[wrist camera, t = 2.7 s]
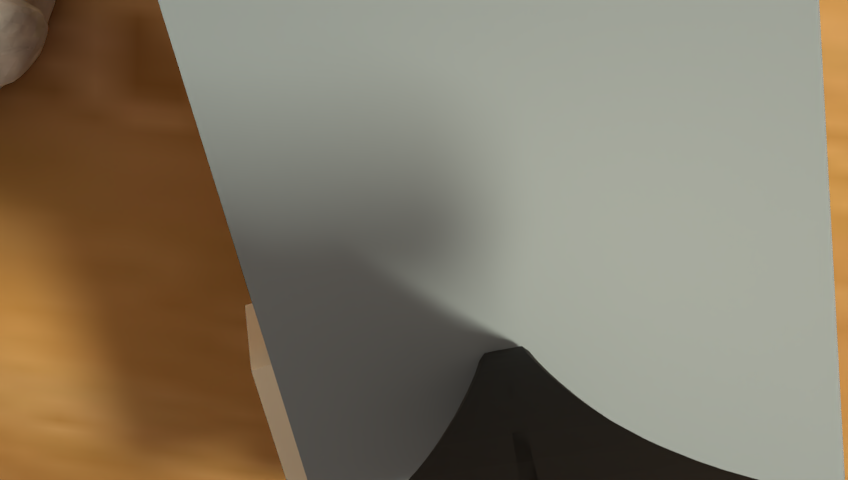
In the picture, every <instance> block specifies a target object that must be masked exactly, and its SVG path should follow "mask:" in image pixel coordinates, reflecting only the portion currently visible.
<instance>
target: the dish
mask: <svg viewBox="0 0 848 480" xmlns="http://www.w3.org/2000/svg"><path fill="white" fill-rule="evenodd" d="M55 1H56V0H0V89H1V88H2V87H3V86H4V85H6V84H9V83H13V82H14V81H15V80H17V79H18V78H20V77H21V76H22V75H23V74H24V73H25V72H26V71H27V70H28V69H29V68H30V67H31V65H32V64H33V63H34V62H35V60H36V59H37V58H38V57H39V55H40V53H41V51H42V48H43V46H44V43H45V40H46V37H47V34H48V21H49V18H50V16H51V13H52V11H53V8H54V5H55Z"/></svg>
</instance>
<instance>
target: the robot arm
mask: <svg viewBox="0 0 848 480" xmlns="http://www.w3.org/2000/svg"><path fill="white" fill-rule="evenodd" d="M409 480H758V479H754V478H751V477H747V476H743V475H740V474H736V473H733V472H729V471H726V470H723V469H720V468H717V467H714V466H711V465H708V464H705V463H702V462H699V461H696V460H694V459H691V458H689V457H686V456H684V455H681V454H679V453H676V452H674V451H671V450H669V449H666V448H664V447H662V446H659V445H657V444H655V443H653V442H651V441H648V440H646V439H644V438H642V437H640V436H639V435H637V434H635V433H633V432H631V431H629V430H627V429H625V428H624V427H622V426H620V425H618V424H616V423H614V422H613V421H611V420H609V419H608V418H606V417H605V416H603V415H602V414H600V413H599V412H598V411H596V410H595V409H593V408H592V407H590V406H589V405H588V404H586V403H585V402H584V401H582V400H581V399H580V398H578V397H577V396H576V395H575V394H573V393H572V392H571V391H570V390H569V389H567V388H566V387H565V386H564V385H563V384H561V383H560V382H559V381H558V380H557V379H556V378H554V377H553V376H552V375H551V374H550V373H549V372H548V371H547V370H546V369H545V368H544V367H543V366H542V365H541V364H540V363H539V362H538V361H537V360H536V359H535V358H534V356H533V355H532V354H531V353H530V351H528V350H527V349H525V348H524V347H523V346H519V347H514V348H508V349H503V350H497V351H492V352H488V353H484V355H483V356H482V358H481V359H480V360H479V363H478V366H477V369H476V372H475V375H474V377H473V379H472V382H471V384H470V386H469V388H468V391H467V393H466V395H465V397H464V398H463V400H462V402H461V404H460V406H459V408H458V410H457V412H456V414H455V416H454V417H453V419H452V421H451V422H450V424H449V425H448V427H447V429H446V430H445V432H444V433H443V435H442V437H441V438H440V440H439V441H438V443H437V444H436V446H435V447H434V449H433V450H432V451H431V453H430V454H429V456H428V457H427V458H426V460H425V461H424V462H423V464H422V465H421V466H420V467H419V468H418V469H417V471H416V472H415V473H414V474H413V475H412V476H411V477H410V479H409Z"/></svg>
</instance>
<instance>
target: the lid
mask: <svg viewBox="0 0 848 480" xmlns="http://www.w3.org/2000/svg"><path fill="white" fill-rule="evenodd" d="M158 2H159V6H160V9H161V12H162V15H163V18H164V22H165V25H166V28H167V31H168V34H169V38H170V41H171V44H172V47H173V50H174V54H175V57H176V60H177V63H178V66H179V70H180V73H181V76H182V79H183V83H184V86H185V89H186V92H187V95H188V99H189V102H190V105H191V108H192V111H193V115H194V118H195V121H196V124H197V127H198V131H199V134H200V137H201V140H202V143H203V147H204V150H205V153H206V156H207V160H208V163H209V166H210V169H211V172H212V176H213V179H214V182H215V185H216V188H217V192H218V195H219V198H220V201H221V204H222V208H223V211H224V214H225V217H226V220H227V224H228V227H229V230H230V233H231V237H232V240H233V243H234V246H235V249H236V253H237V256H238V259H239V262H240V265H241V269H242V272H243V275H244V278H245V281H246V285H247V288H248V291H249V294H250V297H251V301H252V303H251V304H247V305H245V312H246V322H247V332H248V343H249V353H250V363H251V372H252V375H253V378H254V381H255V384H256V387H257V390H258V393H259V396H260V400H261V403H262V406H263V409H264V412H265V415H266V418H267V421H268V424H269V428H270V431H271V434H272V437H273V440H274V443H275V446H276V449H277V452H278V455H279V459H280V462H281V465H282V468H283V471H284V474H285V477H286V480H409V479H410V477H411V476H412V475H413V474H414V473H415V472H416V471H417V469H418V468H419V467H420V466H421V465H422V464H423V462H424V461H425V460H426V458H427V457H428V456H429V454H430V453H431V451H432V450H433V449H434V447H435V446H436V444H437V443H438V441H439V440H440V438H441V437H442V435H443V433H444V432H445V430H446V429H447V427H448V425H449V424H450V422H451V421H452V419H453V417H454V416H455V414H456V412H457V410H458V408H459V406H460V404H461V402H462V400H463V398H464V397H465V395H466V393H467V391H468V388H469V386H470V384H471V382H472V379H473V377H474V375H475V372H476V369H477V366H478V363H479V360H480V359H481V358H482V356H483V355H484V353H488V352H492V351H497V350H503V349H508V348H514V347H519V346H523V347H524V348H525V349H527V350H528V351H530V353H531V354H532V355H533V356H534V358H535V359H536V360H537V361H538V362H539V363H540V364H541V365H542V366H543V367H544V368H545V369H546V370H547V371H548V372H549V373H550V374H551V375H552V376H553V377H554V378H556V379H557V380H558V381H559V382H560V383H561V384H563V385H564V386H565V387H566V388H567V389H569V390H570V391H571V392H572V393H573V394H575V395H576V396H577V397H578V398H580V399H581V400H582V401H584V402H585V403H586V404H588V405H589V406H590V407H592V408H593V409H595V410H596V411H598V412H599V413H600V414H602V415H603V416H605V417H606V418H608V419H609V420H611V421H613V422H614V423H616V424H618V425H620V426H622V427H624V428H625V429H627V430H629V431H631V432H633V433H635V434H637V435H639V436H640V437H642V438H644V439H646V440H648V441H651V442H653V443H655V444H657V445H659V446H662V447H664V448H666V449H669V450H671V451H674V452H676V453H679V454H681V455H684V456H686V457H689V458H691V459H694V460H696V461H699V462H702V463H705V464H708V465H711V466H714V467H717V468H720V469H723V470H726V471H729V472H733V473H736V474H740V475H743V476H747V477H751V478H754V479H758V480H845V473H844V455H843V436H842V418H841V399H840V381H839V362H838V344H837V325H836V307H835V288H834V270H833V251H832V233H831V214H830V196H829V177H828V159H827V140H826V122H825V103H824V85H823V66H822V48H821V29H820V11H819V0H158Z"/></svg>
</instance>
